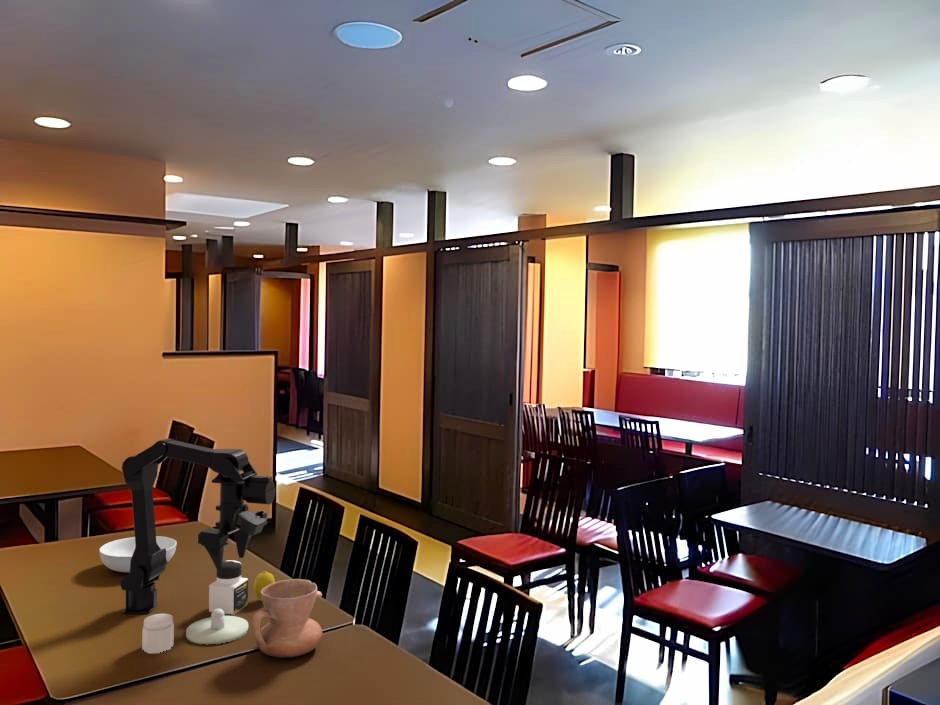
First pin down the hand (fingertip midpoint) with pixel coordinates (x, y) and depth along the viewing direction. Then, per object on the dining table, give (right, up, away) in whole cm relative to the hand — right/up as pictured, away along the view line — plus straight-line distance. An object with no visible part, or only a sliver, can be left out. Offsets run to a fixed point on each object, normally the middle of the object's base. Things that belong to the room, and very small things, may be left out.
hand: (230, 563), depth 179 cm
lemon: (+5, -14, +12) cm, 19 cm away
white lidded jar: (-11, -14, -16) cm, 24 cm away
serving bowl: (-39, -12, +35) cm, 53 cm away
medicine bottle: (-3, -14, +6) cm, 15 cm away
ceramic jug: (+18, -15, -16) cm, 29 cm away
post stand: (-1, -14, -8) cm, 16 cm away
